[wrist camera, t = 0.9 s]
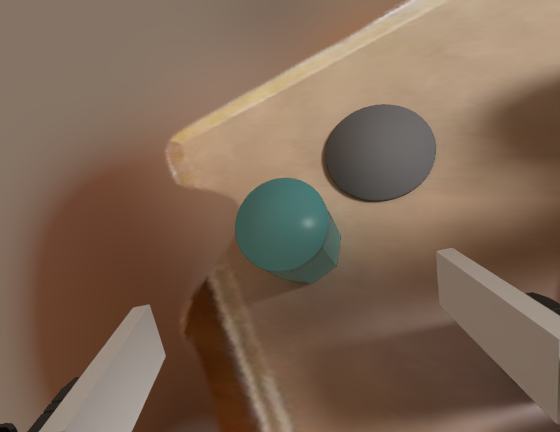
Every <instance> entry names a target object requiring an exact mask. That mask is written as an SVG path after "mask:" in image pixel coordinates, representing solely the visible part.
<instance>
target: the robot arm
mask: <svg viewBox="0 0 560 432" xmlns="http://www.w3.org/2000/svg"><path fill="white" fill-rule="evenodd" d="M436 263H437V277H438V290H439V304H440V306H441V307H442V308H443V309H444V310H445V311H446V312H447V313H448V314H449V315H450V316H451V317H452V318H453V319H454V320H455V321H456V322H457V323H458V325H459V326H460V327H461V328H462V329H463V330H464V331H465V332H466V333H467V334H468V335H469V336H470V337H471V338H472V339H473V340H474V341H475V342H476V343H477V344H478V345H479V346H480V347H481V348H482V349H483V350H484V351H485V352H486V353H487V354H488V355H489V356H490V357H491V358H492V359H493V360H494V361H495V362H496V363H497V364H498V365H499V366H500V367H501V368H502V369H503V370H504V371H505V372H506V373H507V374H508V375H509V376H510V377H511V378H512V379H513V380H514V381H515V382H516V383H517V384H518V385H519V386H520V387H521V388H522V389H523V390H524V392H525V393H526V394H527V395H528V396H529V397H530V398H531V399H532V400H533V401H534V402H535V403H536V404H537V405H538V406H539V407H540V408H541V409H542V410H543V411H544V412H545V413H546V414H547V415H548V416H549V417H550V418H551V419H552V420H553V421H554V422H555V423H556V424H560V304H559V303H557V302H555V301H554V300H552V299H550V298H548V297H545V296H542V295H539V294H536V293H533V292H531V293H523V292H521V291H520V290H518V289H517V288H515V287H514V286H512V285H510V284H509V283H507V282H506V281H504V280H502V279H501V278H499V277H498V276H496V275H495V274H493V273H491V272H490V271H488V270H487V269H485V268H484V267H482V266H480V265H479V264H477V263H476V262H474V261H472V260H471V259H469V258H468V257H466V256H465V255H463V254H461V253H460V252H458V251H457V250H455V249H454V248H449V249H443V250H438V251H436ZM165 357H166V355H165V352H164V349H163V346H162V342H161V339H160V336H159V333H158V330H157V326H156V323H155V320H154V317H153V314H152V310H151V307H150V305H144V306H138V307H133V308H132V310H131V311H130V312H129V314H128V315H127V316H126V318H125V319H124V320H123V321H122V323H121V324H120V325H119V327H118V328H117V330H116V331H115V332H114V333H113V335H112V336H111V337H110V339H109V340H108V341H107V343H106V344H105V345H104V347H103V348H102V349H101V351H100V352H99V353H98V354H97V356H96V357H95V358H94V360H93V361H92V362H91V364H90V365H89V366H88V368H87V369H86V370H85V372H84V373H83V374H82V376H81V377H77V378H74V379H73V380H72V381H71V382H70V383H68V384H67V385H66V386H65V387H64V388H62V389H61V391H60V392H59V393H58V394H57V395H56V397H55V398H54V399H53V400H52V403H51V404H49V405H48V407H47V408H46V409H45V411H44V413H43V414H41V415H40V417H39V418H38V419H37V421H36V422H35V423H34V424H33V426H32V427H31V428H30V429H29V431H28V432H132V430H133V428H134V425H135V423H136V421H137V419H138V417H139V414H140V412H141V410H142V408H143V406H144V403H145V401H146V399H147V397H148V394H149V392H150V390H151V388H152V386H153V383H154V381H155V379H156V377H157V374H158V372H159V370H160V368H161V366H162V363H163V361H164V359H165ZM0 432H17V429H16V428H15V426H14V425H13V424H11V423H4V424H0Z"/></svg>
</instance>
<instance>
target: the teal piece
mask: <svg viewBox="0 0 560 432" xmlns="http://www.w3.org/2000/svg"><path fill="white" fill-rule="evenodd" d="M235 234H236V239H237V243H238V245H239V248H240V249H241V251H242V253H243V254H244V256H245V257H246V258H247V259H248V260H249V261H251V262H252V263H253V264H255V265H256V266H257V267H259V268H261V269H263V270H265V271H267V272H269V273H271V274H274V275H276V276H278V277H280V278H282V279H286V280H291V281H297V282H303V283H309V284H313V283H314V282H316V281H317V280H318V279H320V278H321V277H322V276H324V275H325V274H326V273H328V272H329V271H331V270H332V269H333V268H335V267H336V266H337V260H338V253H339V246H340V240H341V235H340V233H339V231H338V229H337V227H336V225H335V223H334V221H333V219H332V217H331V215H330V213H329V212H328V211H327V208H326V205H325V203H324V201H323V199H322V198H321V196H320V195H319V193H318V192H317V191H316V190H315V189H314V188H313V187H311V186H310V185H308V184H307V183H305V182H303V181H300V180H297V179H292V178H279V179H274V180H270V181H268V182H265V183H263V184H261V185H260V186H258V187H257V188H255V189H254V190H253V191H252V192H251V193H250V194H249V195H248V196H247V197H246V198H245V200H244V201H243V203H242V205H241V206H240V209H239V211H238V214H237V217H236V223H235Z"/></svg>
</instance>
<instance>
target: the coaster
mask: <svg viewBox="0 0 560 432" xmlns="http://www.w3.org/2000/svg"><path fill="white" fill-rule="evenodd" d="M435 154H436V143H435V138H434V135H433V132H432V130H431V129H430V127H429V125H428V124H427V123H426V122H425V121H424V120H423V119H422V118H421V117H420V116H419V115H418V114H416V113H415V112H413V111H411V110H409V109H406V108H404V107H400V106H396V105H385V104H383V105H374V106H369V107H365V108H362V109H360V110H357V111H355V112H354V113H352V114H350V115H349V116H347V117H346V118H345V119H343V120H342V121H341V122H340V123H339V124H338V125H337V126H336V128H335V129H334V131H333V132H332V134H331V136H330V138H329V140H328V143H327V147H326V163H327V167H328V170H329V173H330V175H331V177H332V179H333V180H334V181H335V183H336V184H337V185H338V186H339V187H340V188H341V189H342V190H344V191H345V192H346V193H348V194H350V195H352V196H354V197H356V198H359V199H363V200H368V201H387V200H392V199H396V198H398V197H401V196H404V195H406V194H408V193H409V192H411V191H412V190H414V189H415V188H417V187H418V186H419V185H420V184H421V183H422V182H423V181H424V180H425V179H426V177H427V176H428V174H429V173H430V170H431V168H432V166H433V163H434V160H435Z"/></svg>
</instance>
